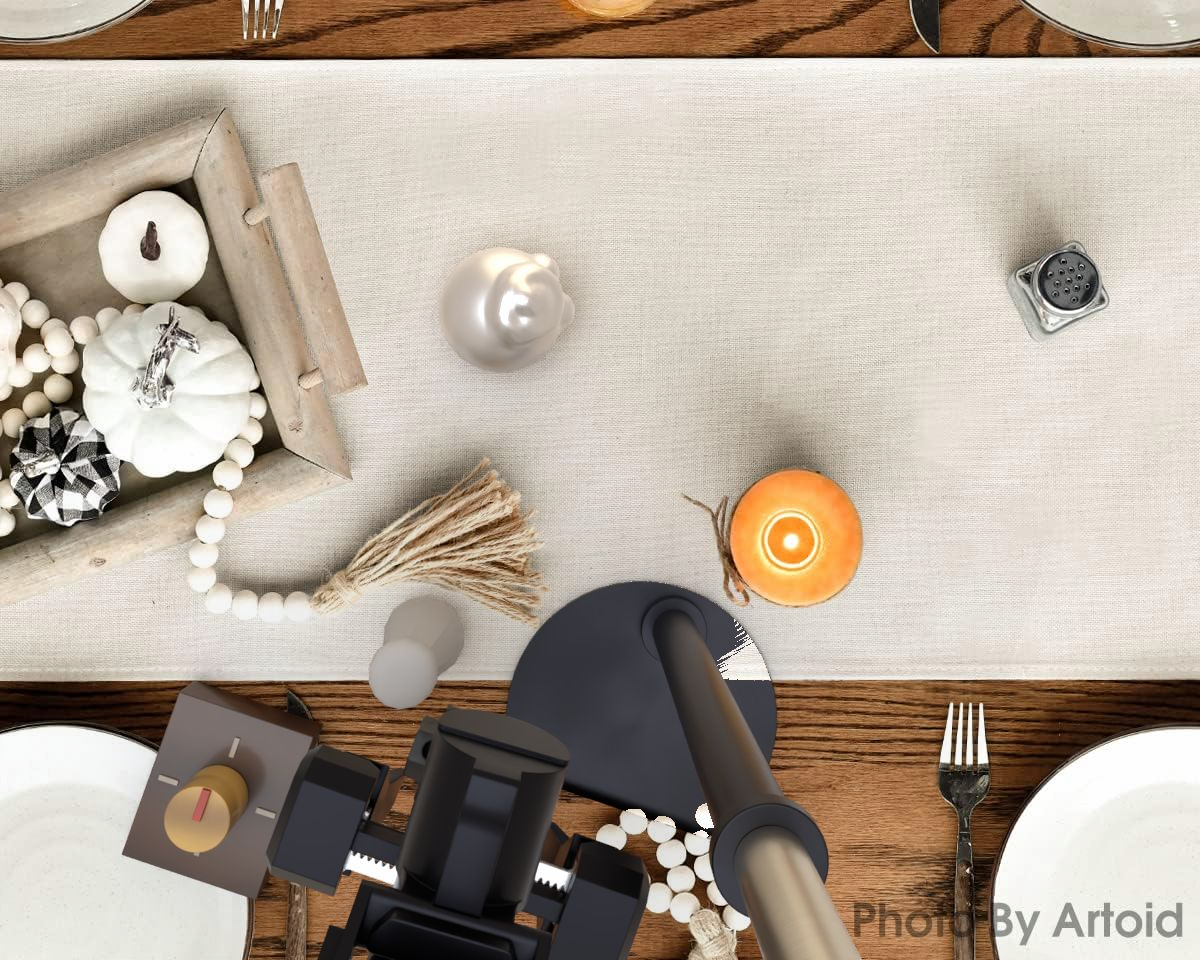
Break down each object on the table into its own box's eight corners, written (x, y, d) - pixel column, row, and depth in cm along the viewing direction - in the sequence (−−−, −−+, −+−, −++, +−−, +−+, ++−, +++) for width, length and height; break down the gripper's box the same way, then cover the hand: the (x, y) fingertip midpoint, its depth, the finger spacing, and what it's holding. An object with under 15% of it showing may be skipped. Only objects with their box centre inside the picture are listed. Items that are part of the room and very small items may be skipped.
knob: (236, 836, 73) (215, 864, 69) (176, 816, 73) (152, 842, 69) (257, 776, 74) (238, 800, 69) (198, 756, 73) (174, 779, 69)
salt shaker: (377, 608, 77) (338, 652, 64) (449, 577, 77) (424, 615, 64) (408, 681, 77) (375, 740, 64) (480, 650, 77) (461, 702, 64)
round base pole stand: (725, 888, 77) (1001, 1797, 27) (469, 802, 77) (278, 1561, 27) (811, 631, 78) (1233, 1060, 28) (558, 544, 78) (531, 822, 28)
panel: (268, 880, 76) (255, 901, 73) (138, 836, 76) (119, 856, 73) (323, 723, 77) (313, 738, 74) (194, 679, 77) (178, 692, 73)
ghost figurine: (554, 389, 78) (552, 389, 68) (432, 355, 78) (411, 350, 68) (587, 273, 78) (589, 256, 68) (465, 238, 78) (450, 217, 68)
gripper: (704, 836, 46) (670, 725, 62) (306, 694, 46) (373, 618, 61) (618, 1080, 46) (606, 906, 61) (215, 937, 45) (306, 799, 61)
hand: (474, 803), depth 61 cm, fingers open, 9 cm apart
